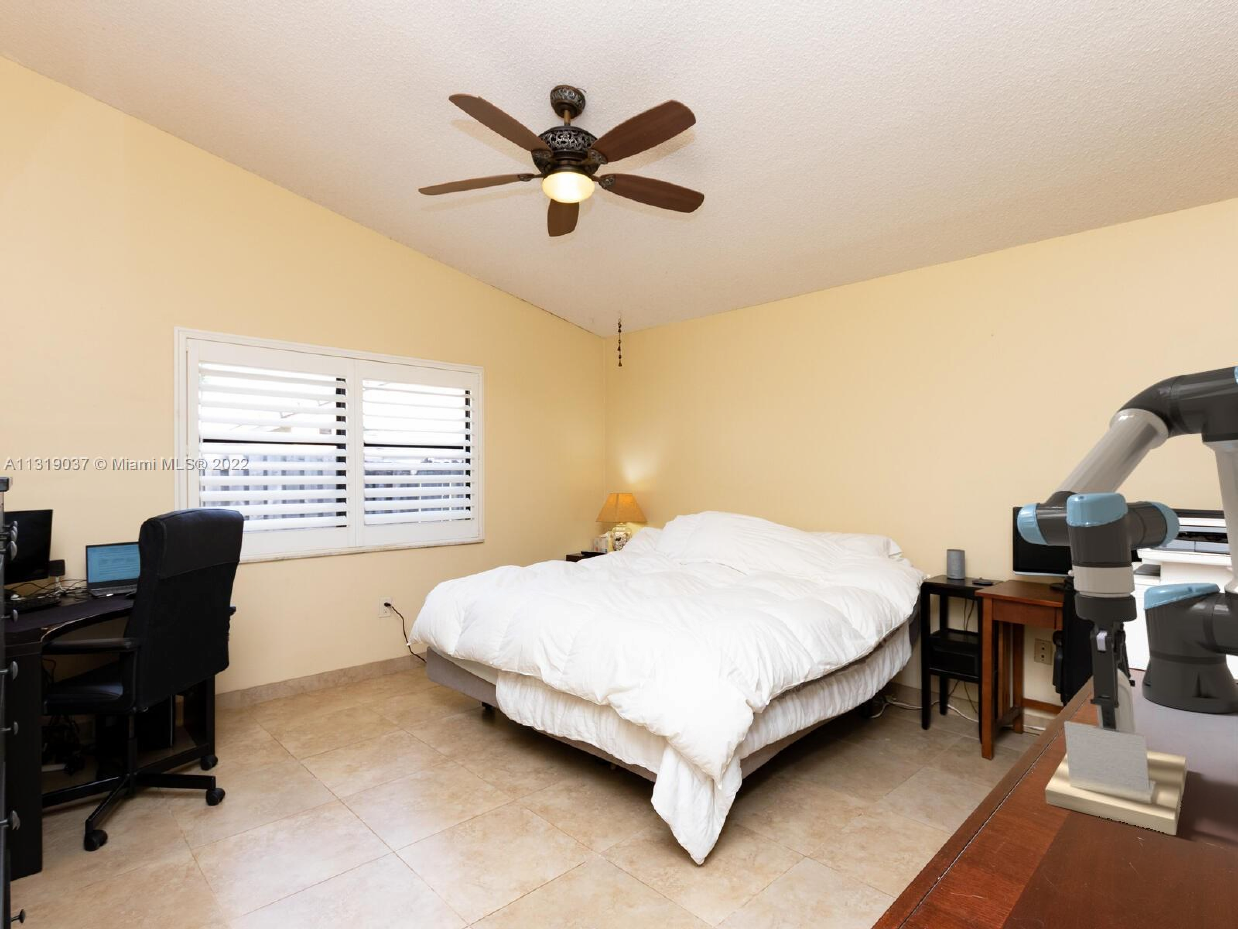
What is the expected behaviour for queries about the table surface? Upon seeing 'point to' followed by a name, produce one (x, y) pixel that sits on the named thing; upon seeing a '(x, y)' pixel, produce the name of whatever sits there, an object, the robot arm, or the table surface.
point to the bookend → (1108, 762)
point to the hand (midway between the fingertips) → (1118, 738)
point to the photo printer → (1125, 702)
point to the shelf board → (1155, 816)
